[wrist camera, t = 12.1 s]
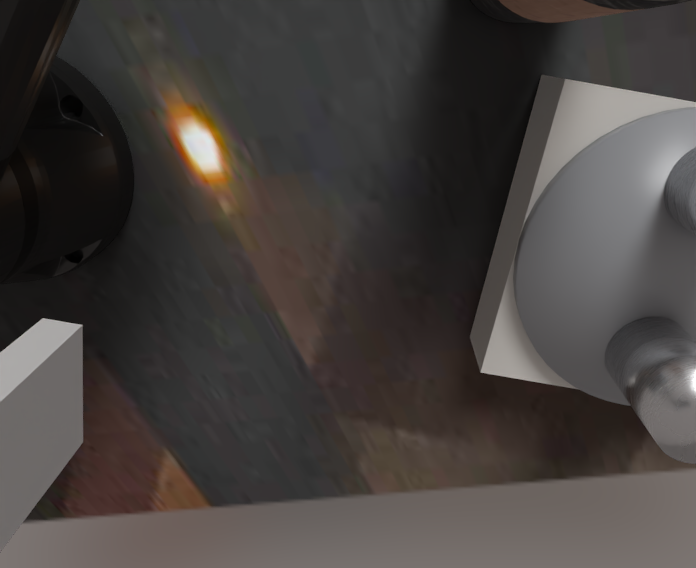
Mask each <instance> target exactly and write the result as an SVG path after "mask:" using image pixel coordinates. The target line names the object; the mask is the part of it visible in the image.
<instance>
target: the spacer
mask: <svg viewBox="0 0 696 568" xmlns="http://www.w3.org/2000/svg"><path fill="white" fill-rule="evenodd" d="M605 366H606V369H607V372H608V373H609V375H610V376H611V378H612V379H613V381H614V382H615V384H616V385H617V387H618V388H619V390H620V391H621V392H622V394H623V395H624V397H625V398H626V400H627V401H628V403H629V404H630V405H631V407H632V408H633V410H634V411H635V413H636V414H637V416H638V417H639V418H640V420H641V421H642V423H643V424H644V426H645V427H646V429H647V430H648V431H649V433H650V434H651V436H652V437H653V439H654V440H655V442H656V443H657V444H658V446H659V447H660V449H661V450H662V451H663V452H664V453H665V454H667V455H668V456H670V457H671V458H673V459H675V460H678V461H681V462H685V463H692V464H696V339H695V338H694V337H693V336H692V335H690V334H689V333H688V332H687V331H686V330H685V329H684V328H683V327H682V326H681V325H679V324H678V323H677V322H675V321H673V320H671V319H668V318H664V317H658V316H651V317H644V318H639V319H637V320H634V321H632V322H630V323H628V324H626V325H625V326H623V327H622V328H620V329H619V330H618V331H617V332H616V333H615V334H614V335H613V337H612V338H611V340H610V341H609V343H608V345H607V347H606V351H605Z"/></svg>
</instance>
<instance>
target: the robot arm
mask: <svg viewBox="0 0 696 568" xmlns="http://www.w3.org/2000/svg"><path fill="white" fill-rule="evenodd" d="M79 1H80V0H0V284H7V283H15V282H24V281H33V280H41V279H48V278H52V277H56V276H59V275H62V274H65V273H67V272H70V271H72V270H74V269H76V268H78V267H80V266H81V265H83V264H84V263H86V262H87V261H89V260H90V259H91V258H93V257H94V256H96V255H97V254H98V253H100V252H101V251H102V250H103V249H105V248H106V247H107V246H108V245H109V244H110V243H111V242H112V240H113V239H114V238H115V237H116V235H117V234H118V233H119V231H120V229H121V228H122V226H123V224H124V222H125V220H126V217H127V215H128V212H129V209H130V206H131V201H132V196H133V186H134V173H133V163H132V157H131V153H130V148H129V145H128V142H127V139H126V136H125V133H124V131H123V129H122V127H121V124H120V122H119V120H118V118H117V117H116V115H115V113H114V111H113V110H112V108H111V107H110V105H109V104H108V102H107V101H106V100H105V98H104V97H103V96H102V94H101V93H100V92H99V91H98V90H97V89H96V87H95V86H94V85H93V84H92V83H91V82H90V81H89V80H88V79H87V78H86V77H85V76H83V75H82V74H81V73H80V72H79V71H77V70H76V69H75V68H73V67H72V66H71V65H69V64H68V63H66V62H65V61H63V60H62V59H60V58H58V57H56V54H57V52H58V50H59V48H60V45H61V43H62V41H63V38H64V36H65V34H66V31H67V29H68V27H69V24H70V22H71V20H72V18H73V15H74V13H75V11H76V8H77V6H78V4H79ZM82 443H83V325H80V324H74V323H68V322H62V321H56V320H51V319H45V318H42V319H41V320H40V321H39V322H37V323H36V324H35V325H34V326H33V327H31V328H30V329H29V330H28V331H26V332H25V333H24V334H23V335H21V336H20V337H19V338H18V339H16V340H15V341H14V342H13V343H11V344H10V345H9V346H8V347H6V348H5V349H4V350H3V351H2V352H0V552H1V551H2V549H3V548H4V547H5V545H6V544H7V543H8V541H9V540H10V539H11V537H12V536H13V535H14V533H15V532H16V531H17V529H18V528H19V527H20V525H21V524H22V523H23V521H24V520H25V519H26V517H27V516H28V515H29V513H30V512H31V511H32V509H33V508H34V507H35V505H36V504H37V503H38V501H39V500H40V499H41V497H42V496H43V495H44V493H45V492H46V491H47V489H48V488H49V487H50V485H51V484H52V483H53V481H54V480H55V479H56V478H57V476H58V475H59V474H60V472H61V471H62V470H63V468H64V467H65V466H66V464H67V463H68V462H69V460H70V459H71V458H72V456H73V455H74V454H75V452H76V451H77V450H78V448H79V447H80V446H81V444H82Z"/></svg>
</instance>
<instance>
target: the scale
mask: <svg viewBox="0 0 696 568" xmlns="http://www.w3.org/2000/svg"><path fill="white" fill-rule="evenodd" d="M695 147H696V102H691V101H686V100H680V99H675V98H669V97H663V96H658V95H652V94H647V93H641V92H636V91H630V90H624V89H619V88H613V87H608V86H602V85H597V84H591V83H585V82H580V81H574V80H569V79H563V78H558V77H552V76H546V75H541V78H540V82H539V86H538V89H537V93H536V97H535V100H534V104H533V108H532V111H531V115H530V118H529V122H528V126H527V129H526V133H525V137H524V140H523V144H522V148H521V151H520V155H519V159H518V162H517V166H516V170H515V173H514V177H513V181H512V184H511V188H510V191H509V195H508V199H507V202H506V206H505V210H504V213H503V217H502V221H501V224H500V228H499V232H498V235H497V239H496V243H495V246H494V250H493V254H492V257H491V261H490V264H489V268H488V272H487V275H486V279H485V283H484V286H483V290H482V294H481V297H480V301H479V305H478V308H477V312H476V316H475V319H474V323H473V327H472V330H471V334H470V340H471V343H472V346H473V350H474V353H475V356H476V360H477V363H478V366H479V369H480V372H481V373H486V374H492V375H498V376H504V377H510V378H515V379H521V380H527V381H533V382H538V383H544V384H550V385H556V386H562V387H567V388H573V389H579V390H581V391H583V392H585V393H587V394H589V395H592V396H594V397H597V398H600V399H603V400H605V401H609V402H613V403H618V404H622V405H628V406H631V405H630V404H629V403H628V401H627V400H626V398H625V397H624V395H623V394H622V392H621V391H620V390H619V388H618V387H617V385H616V384H615V382H614V381H613V379H612V378H611V376H610V375H609V373H608V372H607V369H606V366H605V351H606V347H607V345H608V343H609V341H610V340H611V338H612V337H613V335H614V334H615V333H616V332H617V331H618V330H619V329H620V328H622V327H623V326H625V325H626V324H628V323H630V322H632V321H634V320H637V319H639V318H644V317H651V316H658V317H664V318H668V319H671V320H673V321H675V322H677V323H678V324H679V325H681V326H682V327H683V328H684V329H685V330H686V331H687V332H688V333H689V334H690V335H692V336H693V337H694V338H695V339H696V235H695V234H693V233H692V232H690V231H688V230H687V229H685V228H683V227H682V226H680V225H679V224H677V223H676V222H675V221H674V220H673V219H672V218H671V216H670V215H669V213H668V211H667V209H666V206H665V202H664V189H665V184H666V181H667V178H668V176H669V173H670V172H671V170H672V168H673V167H674V165H675V164H676V163H677V162H678V160H679V159H680V158H681V157H682V156H684V155H685V154H686V153H687V152H689V151H690V150H691V149H693V148H695Z"/></svg>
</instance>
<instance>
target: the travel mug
mask: <svg viewBox="0 0 696 568" xmlns="http://www.w3.org/2000/svg"><path fill="white" fill-rule="evenodd" d="M470 1H471V2H472V3H473V4H474V5H475V6H476V7H477V8H478V9H479V10H480V11H481V12H483V13H484V14H486V15H488V16H489V17H491V18H494V19H497V20H500V21H504V22H510V23H558V22H567V21H573V20H580V19H586V18H592V17H598V16H604V15H610V14H617V13H623V12H629V11H635V10H641V9H648V8H654V7H660V6H666V5H672V4H677V3H682V2H686V1H690V0H470Z"/></svg>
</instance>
